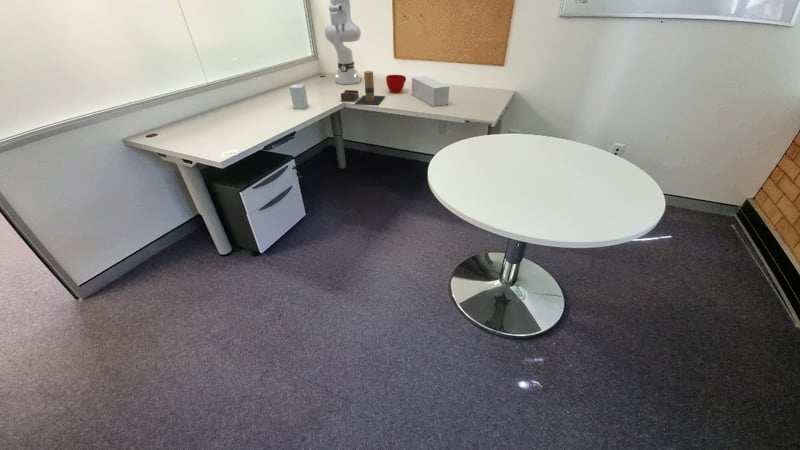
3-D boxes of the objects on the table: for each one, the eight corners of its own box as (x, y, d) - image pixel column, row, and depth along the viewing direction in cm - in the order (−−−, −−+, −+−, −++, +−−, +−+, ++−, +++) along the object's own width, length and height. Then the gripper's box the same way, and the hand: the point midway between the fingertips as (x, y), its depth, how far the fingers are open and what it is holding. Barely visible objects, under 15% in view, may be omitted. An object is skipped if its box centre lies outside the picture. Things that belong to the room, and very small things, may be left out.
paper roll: (374, 71, 207) (365, 70, 208) (371, 72, 203) (362, 72, 203) (375, 98, 217) (367, 98, 218) (373, 101, 213) (364, 100, 213)
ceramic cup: (412, 90, 235) (412, 75, 230) (395, 95, 226) (395, 79, 220) (398, 87, 243) (398, 72, 237) (382, 91, 233) (382, 76, 227)
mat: (363, 95, 225) (363, 95, 224) (385, 96, 222) (385, 96, 222) (355, 104, 209) (355, 103, 208) (377, 105, 206) (377, 104, 206)
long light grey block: (411, 94, 228) (411, 77, 221) (425, 92, 231) (425, 76, 225) (433, 106, 204) (433, 88, 197) (448, 104, 207) (449, 86, 201)
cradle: (346, 97, 222) (345, 89, 219) (358, 97, 221) (358, 90, 218) (341, 101, 214) (340, 93, 212) (354, 101, 213) (353, 94, 210)
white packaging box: (308, 105, 207) (305, 84, 199) (304, 109, 201) (301, 87, 193) (297, 105, 207) (293, 84, 200) (293, 108, 201) (288, 87, 194)
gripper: (339, 5, 209) (341, 30, 217) (327, 7, 192) (330, 34, 200) (348, 5, 208) (350, 30, 216) (337, 7, 191) (340, 34, 199)
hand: (340, 32), depth 208 cm, fingers open, 8 cm apart
